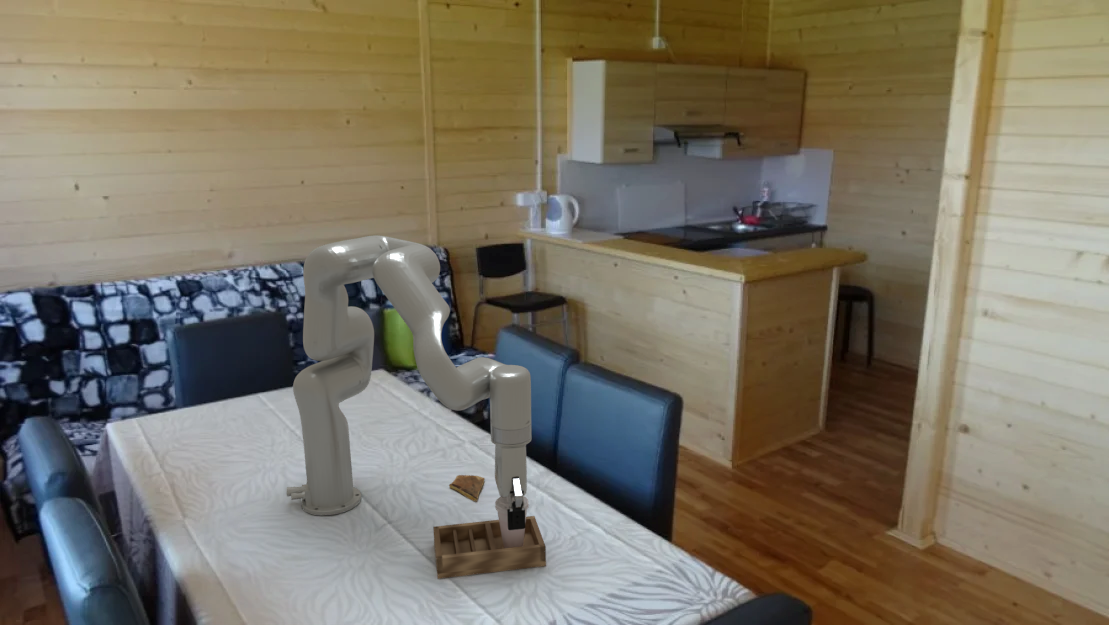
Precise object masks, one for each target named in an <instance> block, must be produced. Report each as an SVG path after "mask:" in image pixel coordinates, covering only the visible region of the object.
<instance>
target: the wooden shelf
mask: <svg viewBox="0 0 1109 625" xmlns="http://www.w3.org/2000/svg"><path fill="white" fill-rule="evenodd" d="M537 522H538V521H537V519H536V516H535V515H529V516H526V524H525V533H524V543H523V546H521V547H512V548H504V546H503V540H502V534H501V529H500V523H499V519H493V520H491V519H490V520H482V521H475V522H474V521H473V522H466V523H464V522H463V523H455V524H446V525H445V524H444V525H436V526H433V528H432V530H433V531H432V532H433V546H434V556H435V566H436V575H437V580H439V579H440V580H441V579H447V578H455V577H456V578H457V577H464V576H473V575H480V574H489V573H497V572H499V573H500V572H505V571H515V570H522V569H531V568H540V567H547V566H546V565H547V560H546V558H547V551H546V548H547V547H546V543H545V542H544V538H543V536H542V534H541V531H540V527H539V524H538V523H537Z"/></svg>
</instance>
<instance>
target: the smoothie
mask: <svg viewBox="0 0 1109 625" xmlns="http://www.w3.org/2000/svg"><path fill="white" fill-rule="evenodd" d="M523 498H524V507H525V524H526V517H527V512H528V510H529V506H530V504H529V499H528V498H527V497H526V496H525V495H524V496H523ZM513 501H515V500H514V498H512V503H513ZM494 504H495V506H494V508H495V511H496V512H497V516H498V517H497V518H498V520H499V523H500V529H501V534H502V540H503V546H504V548H512V547H521V546H523V543H524V533H525V528H524V529H518V530H509V529H508V514H507V509H509V504H508V497H504V498H502V497H501V496H499V497H497V499H496V500H495V503H494Z"/></svg>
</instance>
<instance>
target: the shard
mask: <svg viewBox="0 0 1109 625" xmlns="http://www.w3.org/2000/svg"><path fill="white" fill-rule="evenodd" d="M485 480H486V479H485V477H483V476H480V475H472V474H471V475H469V474H468V475H466V474H465V475H464V474H458V475H456V477H455V479H454V480H453V481H452V482H451V483H450V484H449V485H448V486H449V488H450V489H451V490H455V491H457V492H458V493H459V494H461V495H462V496H464V497H466V498H467V499H469V500H471V501H473V502H475V503H476V502H478V499H479V494H480V491H481V490H482V489H483V488H482V487H483V486H484V484H485Z"/></svg>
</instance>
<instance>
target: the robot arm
mask: <svg viewBox="0 0 1109 625" xmlns="http://www.w3.org/2000/svg"><path fill="white" fill-rule="evenodd" d="M302 271H303V273H302V274H303V283H304V284H303V286H304V309H303V329H302V342H303V350H304V352H305V354H306V356H308V358H310V359H311V360H314V361H316V362H317V363H314V364H311V365H308V366H307V367H305V368H304V369H302V370H301V371H299V373H298V374H297V375H296V376H295V378H294V381H293V385H292V391H293V395H294V399H295V402H296V406H297V409H298V412H299V417H300V424H301V433H302V435H301V436H302V441H303V454H304V464H305V472H306V474H305V476H306V482H305V484H301V486H290V487H289V486H287V487H286V497H291V498H290V499H291V500H292V501H294V500H301V501H300V502H301V509H302V510H303V511H305V513H308V514H311V515H314V516H333V515H338V514H342V513H345V512H347V511H350V510H352V509H354V508H355V507H357V505H359V504H360V502H361V501H362V492H361V490H359V488H357V487H355V486H354V481H353V468H352V467H353V466H352V456H351V455H352V454H351V443H350V442H351V441H350V431H349V422H348V420H347V417H346V416H345V414H344V412H343V411H342V410H341V408H340V403H342V402H345V401H347V400H348V399H350V398H353V397H355V396H357V395H359V394H361V393H362V392H364V391H365V390H366V389H367V388H368V386H369V384H370V381H371V377H372V368H373V356H374V346H375V345H374V343H375V329H374V324H373V321H372V319H371V318H370V316H369V314H367V312H366V311H365V310H363V309H362V308H360V307H357V306H349V295H348V292H347V288H346V287H345V285H348V284H354V283H357V282H362V281H366V280H371V279H374V281H375V283H376V285H378V287H379V289H380V290H381V292H383V294H384V295H385V297H386V298H387V300H388V302H389V303H390V304H391V305H392V308H394V310H396V312H397V313H398V315H399V316H400V317H401V319H402V321H403V322H404V323H405V324H406V326H407V327H408V329H409V330H410V332H411V334H412V338H413V339H412V340H413V343H412V344H413V345H412V346H413V353H414V354H413V355H414V358H415V363H416V367H417V371H418V373H419V374H420V376H421V378H422V379H423V381H424V383H425V384H426V386H427V387H428V388H429V389H430V391H431V393H432V394H433V395H434V396H435V397H436V399H437V400H438V401H440V403H441V404H442V405H443V406H445V407H446V408H448V409H449V410H453V411H464V410H466V409H469V408H470V407H472V406H474V405H476V404H478V403H479V402H481V401H482V400H486V399H489V405H490V406H489V408H490V411H489V412H490V416H489V417H490V442H491V443H492V444H494V480H495V484H496V488H497V491H498V494H499V497H502V498H504V497H508V504H509V509H507V514H508V529H509V530H518V529H524V528H525V507H524V498H523V496H524V497H525V495H526V494H527V489H528V488H527V486H528V485H527V484H528V480H527V479H528V476H527V473H528V470H527V468H528V467H527V445H528V444H529V443H530V442H532V382H531V373H530V370H528V368H526V367H524V366H522V365H517V364H516V365H515V364H505V363H502V362H500V361H498V360H495V359H492V358H488V357H483V356H481V357H476V358H474V359H472V360H469V361H468V362H465V363H463V364H460V365H458V366H456V365H455V364H454V363H453V361H452V360H451V358H450V357H449V355H448V354H447V352H446V350H445V348H444V345H443V341H442V332H443V327H444V324H445V323H446V321H447V320H448V319H449V317H450V312H451V308H450V306H449V304H448V303H447V301H446V300H445V299H444V297H442V295H441V293H440V292H439V291H438V290H437V288H436V287H435V285H434V284H433V283H434V282H435V281H436V280H438V278H439V276H440V272H441V264H440V260H439V258H438V256H437V254H436V253H435V252H434V251H433V250H432V249H431V248H430V247H428V246H427V245H424V244H422V243H418V242H415V241H409V240H405V239H400V238H395V237H391V236H386V235H377V234H376V235H375V234H374V235H368V236H362V237H358V238H357V237H356V238H352V239H345V240H341V241H340V240H339V241H335V242H329V243H327V244H324V245H320V246H318V247H316V248H315V249H314V248H313V249H312V251H310V252H309V253H308V255H307V256H306V257H305V260H304V264H303V270H302ZM512 498H514V500H515V501H513V503H512Z"/></svg>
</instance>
